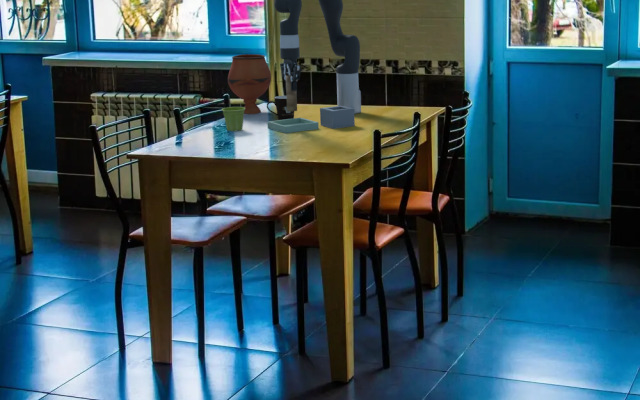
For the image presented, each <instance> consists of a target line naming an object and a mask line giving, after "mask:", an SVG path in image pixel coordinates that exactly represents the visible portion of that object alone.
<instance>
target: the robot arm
mask: <svg viewBox="0 0 640 400" xmlns="http://www.w3.org/2000/svg"><path fill="white" fill-rule="evenodd" d="M302 3H303V2H302V0H274V8H275V11H276V12H277V13H280V14H289V15H288V18H285V19H282V20H281V21H280V22H279V32H280V33H279V34H280V35H279V36H280V38H279V52H280V59H281V60H283V62H281V63H279V67H280V71H281V77H282V79H284V81H286V75H289V76H290V78H291V91H297V90H298V88H297V87H298V86H297V85H298V81H300V79H301V72H302V66H301V65H298V61H297V60H298V59H299V58H300V57H301V56H300V37H299V21H300V20H299V19H300V16H301V11H302V7H303V4H302ZM318 3H319V6H320V9H321V12H322V16H323V19H324V21H325V25H326V28H327V33H328V37H329V41H330V47H331V49H332V52H333V54H335V56H337V57H344V62H343V63H342V64H339V65H338V66H336V95H337V96H336V97H337V98H336V101H337V106H345V107H350V108H354V115H355V114H359V113H362V94H361V93H362V92H361V90H360V87H359V85H360V84H359V69H360V68H359V67H360V63H361V59H360V58H361V43H360V40H359V38H358V37H357V35H354V34H344V32H343V30H342V26H341V18H342V13H343V9H344V3H343V0H318Z"/></svg>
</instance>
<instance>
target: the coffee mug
mask: <svg viewBox="0 0 640 400" xmlns="http://www.w3.org/2000/svg"><path fill="white" fill-rule="evenodd" d="M271 103H272V104H274V106H275V110H276V112H275V111H272V109H270V108H269V104H271ZM266 109H267V110H268V111H269V112H270V113H272V114H274V115H276V116H277V120H285V119H293V118H295V111H292V112H290V111H287V95H278V96H275V97H274V101H273V100H271V101H268V102H267V103H266Z"/></svg>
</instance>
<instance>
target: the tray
mask: <svg viewBox="0 0 640 400" xmlns="http://www.w3.org/2000/svg"><path fill="white" fill-rule="evenodd" d="M319 127H320V126H319V121H314V120H312V119H307V118H304V117H294V118H293V119H285V120H278V119H277V120H270V121H267V129H270V130H273V131H277V132H280V133H283V134H289V133H296V132H298V133H299V132H303V131H304V132H305V131H313V130H319V129H320V128H319Z"/></svg>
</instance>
